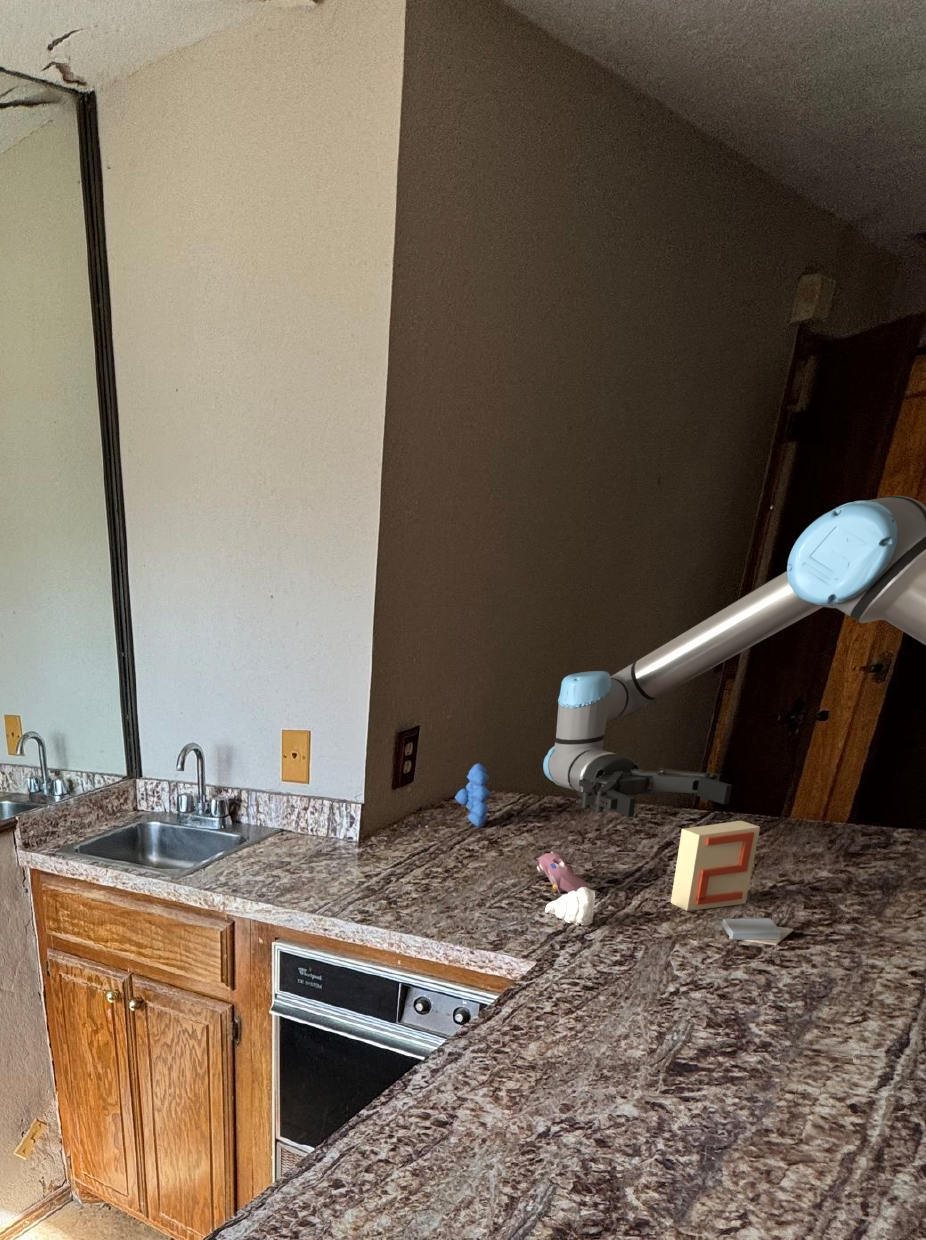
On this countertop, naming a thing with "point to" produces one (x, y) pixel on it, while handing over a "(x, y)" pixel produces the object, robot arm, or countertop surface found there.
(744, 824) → the cream digit block
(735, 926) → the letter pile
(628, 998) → the countertop surface
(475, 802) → the grapes
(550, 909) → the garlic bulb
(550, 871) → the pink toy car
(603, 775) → the robot arm
